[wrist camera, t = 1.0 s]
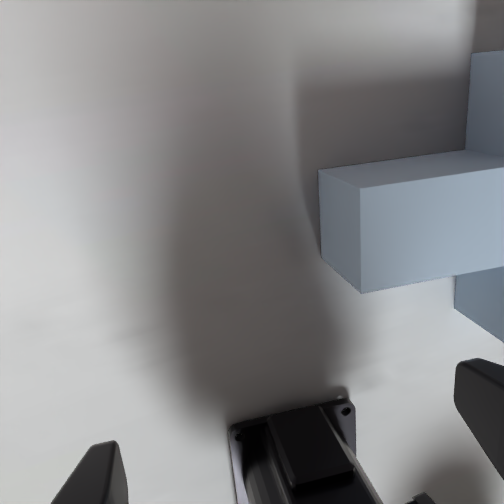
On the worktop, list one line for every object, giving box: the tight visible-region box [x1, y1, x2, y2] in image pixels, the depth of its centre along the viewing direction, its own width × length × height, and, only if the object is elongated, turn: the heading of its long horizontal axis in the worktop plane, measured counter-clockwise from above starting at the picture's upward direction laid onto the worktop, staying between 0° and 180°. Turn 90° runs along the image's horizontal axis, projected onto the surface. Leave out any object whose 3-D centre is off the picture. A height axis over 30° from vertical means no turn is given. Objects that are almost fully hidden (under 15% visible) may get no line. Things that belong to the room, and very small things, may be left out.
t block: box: [318, 50, 504, 342], centre depth 20 cm, size 12×11×4 cm
